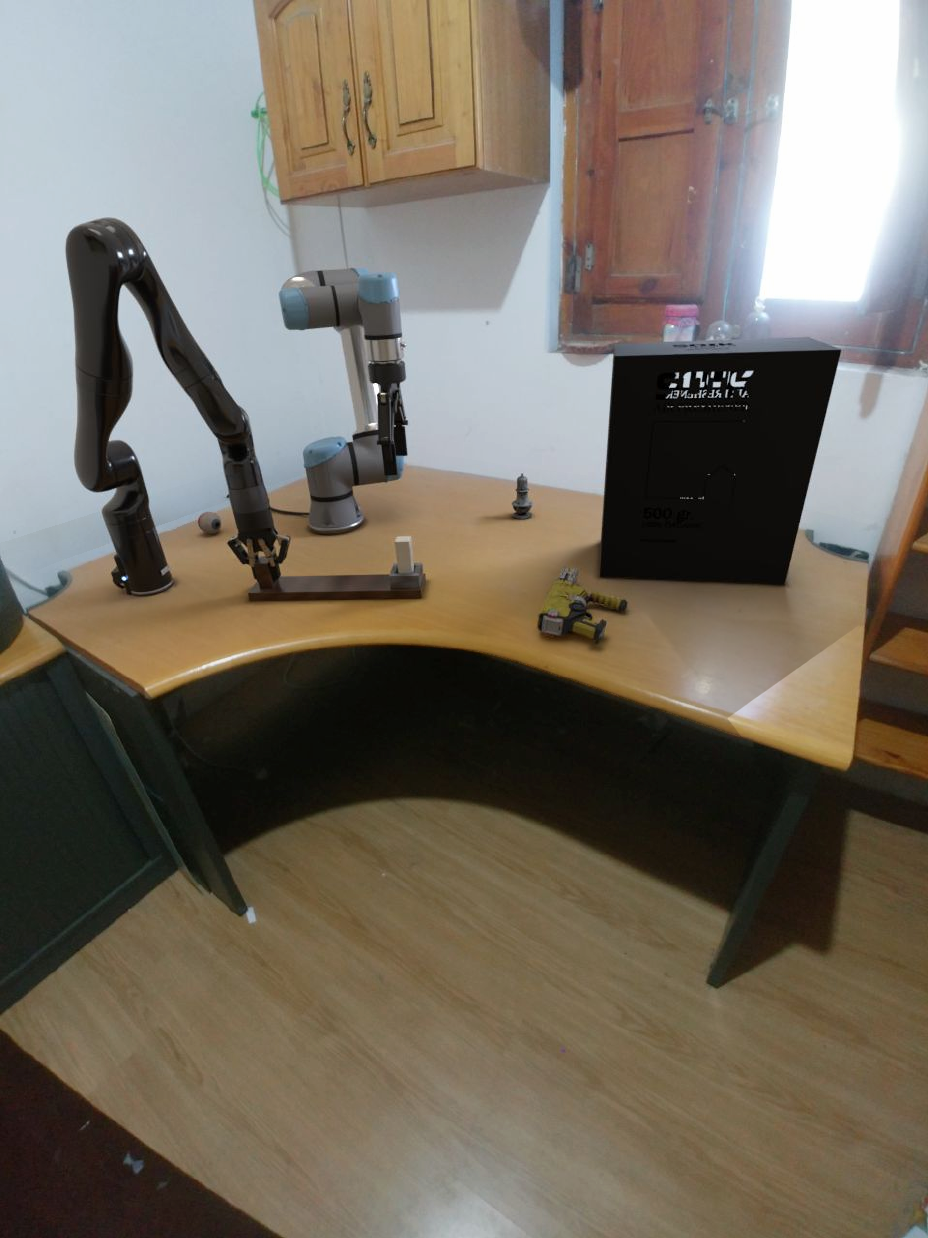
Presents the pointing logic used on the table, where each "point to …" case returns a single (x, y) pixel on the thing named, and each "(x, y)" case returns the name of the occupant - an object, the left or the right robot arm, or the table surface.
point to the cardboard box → (711, 457)
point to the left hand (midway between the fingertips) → (268, 579)
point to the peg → (404, 554)
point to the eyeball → (209, 522)
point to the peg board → (336, 585)
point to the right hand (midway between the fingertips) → (396, 464)
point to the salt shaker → (522, 499)
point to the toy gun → (574, 609)
